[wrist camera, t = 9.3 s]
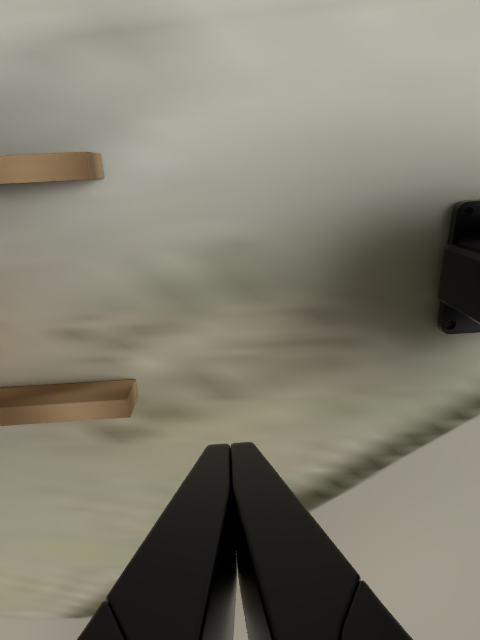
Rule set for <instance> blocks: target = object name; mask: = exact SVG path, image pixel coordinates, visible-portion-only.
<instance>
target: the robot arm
mask: <svg viewBox="0 0 480 640" xmlns="http://www.w3.org/2000/svg"><path fill="white" fill-rule="evenodd" d="M466 207H467V208H468V213H467V215H466V216H465V217H463V216H462V212H463V210H464V209H465V208H466ZM438 298H439V299H440V308H439V315H438V327H439V329H440V330H442V331H443V332H444V333H446V334H460V333H476V332H480V200H467V201H461V202H459V203H457V204H456V205H455V207H454V208H453V211H452V217H451V225H450V232H449V240H448V246H447V247H446V248H445V250H444V256H443V264H442V271H441V279H440V287H439V295H438ZM451 320H452V323H451V325H450V326H448V327H446V325H447V323H448V322H449V321H451ZM230 449H231V451H230ZM236 554H237V558H236ZM237 568H238V578H239V585H240V592H241V598H242V604H243V610H244V616H245V622H246V628H247V633H248V639H249V640H413V639H412V638H411V637H410V636H409V634H408V633H407V632H406V631H405V630H404V629H403V627H402V626H401V625H400V624H399V623H398V622H397V620H396V619H395V618H394V617H393V616H392V614H391V613H390V612H389V611H388V610H387V609H386V607H385V606H384V605H383V604H382V603H381V602H380V600H379V599H378V598H377V597H376V595H375V594H374V593H373V591H372V590H371V589H370V588H369V586H368V585H367V584H366V583H365V582H364V581H361V578H360V576H359V574H358V573H357V572H356V570H355V569H354V568H353V567H352V565H351V564H350V563H349V562H348V561H347V559H346V558H345V557H344V555H343V554H342V553H341V552H340V551H339V549H338V548H337V547H336V546H335V544H334V543H333V542H332V541H331V539H330V538H329V537H328V536H327V534H326V533H325V532H324V531H323V529H322V528H321V527H320V526H319V524H318V523H317V522H316V521H315V519H314V518H313V517H312V516H311V514H310V513H309V512H308V511H307V509H306V508H305V507H304V506H303V504H302V503H301V502H300V501H299V499H298V498H297V497H296V496H295V494H294V493H293V492H292V491H291V489H290V488H289V487H288V486H287V485H286V483H285V482H284V481H283V480H282V478H281V477H280V476H279V475H278V473H277V472H276V471H275V470H274V468H273V467H272V466H271V465H270V463H269V462H268V461H267V460H266V458H265V457H264V456H263V455H262V453H261V452H260V451H259V450H258V448H257V447H256V446H255V445H254V444H253V443H252V442H242V443H233V444H232V445H231V448H230V446H229V445H228V444H213V445H208V446H207V447H206V449H205V450H204V452H203V453H202V455H201V456H200V458H199V459H198V461H197V462H196V464H195V465H194V467H193V468H192V470H191V471H190V473H189V474H188V476H187V477H186V478H185V480H184V481H183V483H182V484H181V486H180V487H179V489H178V490H177V492H176V493H175V495H174V496H173V498H172V499H171V501H170V502H169V504H168V505H167V507H166V508H165V510H164V511H163V513H162V514H161V516H160V517H159V519H158V520H157V522H156V523H155V525H154V526H153V528H152V529H151V531H150V532H149V534H148V535H147V537H146V538H145V540H144V541H143V543H142V544H141V546H140V547H139V549H138V550H137V552H136V553H135V555H134V556H133V558H132V559H131V561H130V562H129V564H128V565H127V567H126V568H125V570H124V571H123V573H122V574H121V576H120V577H119V579H118V580H117V582H116V583H115V585H114V586H113V588H112V589H111V591H110V592H109V594H108V595H107V597H106V600H107V601H104V602H102V603H101V605H100V606H99V608H98V609H97V611H96V613H95V614H94V616H93V617H92V619H91V620H90V622H89V623H88V625H87V626H86V628H85V629H84V631H83V632H82V633H81V635H80V636H79V637H78V639H77V640H233V633H234V618H235V601H236V584H237Z"/></svg>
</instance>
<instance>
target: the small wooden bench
mask: <svg viewBox="0 0 480 640" xmlns="http://www.w3.org/2000/svg"><path fill="white" fill-rule="evenodd" d="M101 178H104V173H103V166H102V160H101V154H99V153H91V152H74V153H53V154H33V155H12V156H0V184H8V183H28V182H48V181H68V180H88V179H101ZM137 397H138V393H137V387H136V380H135V379H132V380H116V381H101V382H85V383H69V384H53V385H38V386H22V387H6V388H0V426H5V425H20V424H35V423H51V422H66V421H81V420H96V419H111V418H126V417H131V414H132V411H133V408H134V405H135V403H136V400H137Z"/></svg>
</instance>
